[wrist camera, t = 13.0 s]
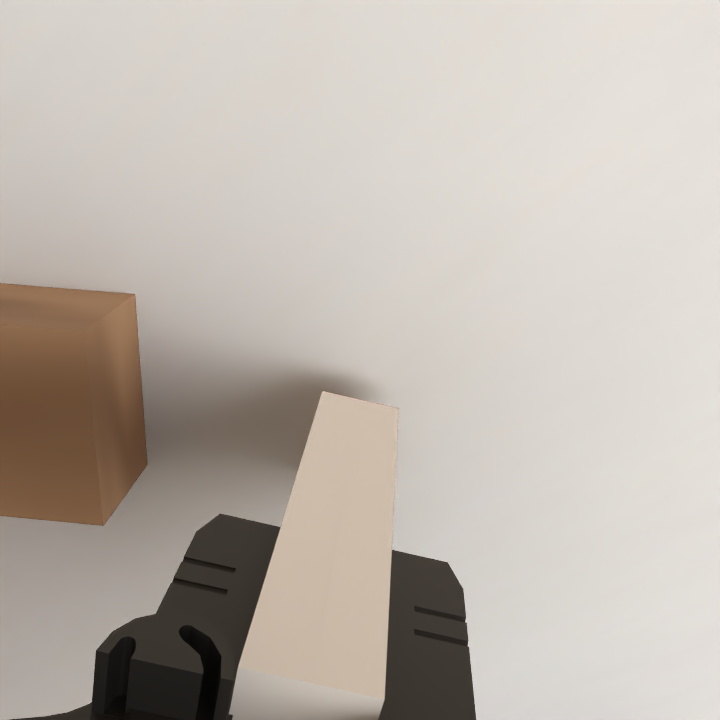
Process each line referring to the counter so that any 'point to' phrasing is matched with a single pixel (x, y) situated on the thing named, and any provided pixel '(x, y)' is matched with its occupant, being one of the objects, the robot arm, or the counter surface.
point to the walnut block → (68, 403)
